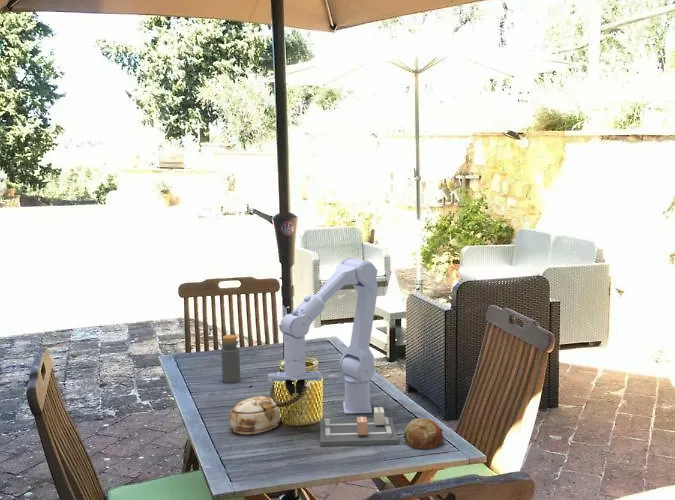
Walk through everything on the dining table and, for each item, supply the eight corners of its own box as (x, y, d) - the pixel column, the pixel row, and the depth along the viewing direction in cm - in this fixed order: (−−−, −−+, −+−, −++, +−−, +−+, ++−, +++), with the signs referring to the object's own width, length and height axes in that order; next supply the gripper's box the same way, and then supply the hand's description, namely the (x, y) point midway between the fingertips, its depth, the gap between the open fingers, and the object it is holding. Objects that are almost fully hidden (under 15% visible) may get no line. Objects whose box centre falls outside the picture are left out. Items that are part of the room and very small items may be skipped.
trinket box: (225, 435, 206) (224, 407, 205) (239, 416, 221) (238, 389, 220) (274, 437, 204) (273, 408, 203) (285, 417, 219) (284, 390, 218)
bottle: (238, 383, 251) (237, 338, 249) (221, 383, 251) (219, 338, 249) (241, 377, 257) (239, 334, 255) (224, 378, 257) (222, 334, 255)
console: (320, 423, 213) (319, 416, 213) (392, 421, 214) (391, 414, 213) (320, 446, 197) (320, 438, 197) (398, 444, 198) (398, 435, 197)
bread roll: (403, 450, 203) (391, 425, 201) (434, 428, 206) (423, 404, 204) (420, 464, 194) (408, 438, 192) (453, 442, 197) (441, 416, 195)
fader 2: (373, 419, 211) (373, 407, 210) (383, 419, 211) (382, 406, 210) (375, 425, 207) (374, 412, 206) (384, 424, 207) (384, 411, 206)
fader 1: (356, 429, 204) (356, 416, 203) (366, 429, 204) (366, 416, 203) (357, 435, 200) (357, 421, 199) (367, 435, 200) (367, 421, 199)
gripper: (267, 362, 205) (268, 411, 207) (321, 361, 205) (322, 410, 207) (268, 355, 212) (270, 403, 214) (321, 354, 212) (322, 401, 214)
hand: (295, 406), depth 211 cm, fingers closed
